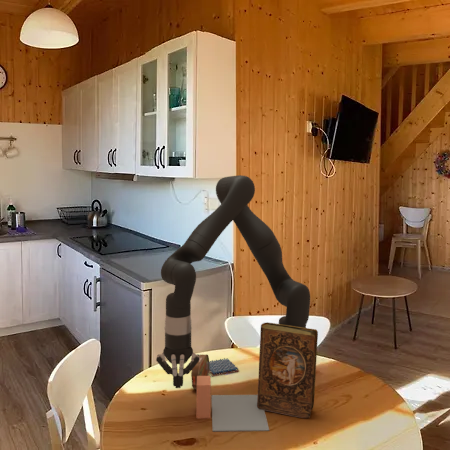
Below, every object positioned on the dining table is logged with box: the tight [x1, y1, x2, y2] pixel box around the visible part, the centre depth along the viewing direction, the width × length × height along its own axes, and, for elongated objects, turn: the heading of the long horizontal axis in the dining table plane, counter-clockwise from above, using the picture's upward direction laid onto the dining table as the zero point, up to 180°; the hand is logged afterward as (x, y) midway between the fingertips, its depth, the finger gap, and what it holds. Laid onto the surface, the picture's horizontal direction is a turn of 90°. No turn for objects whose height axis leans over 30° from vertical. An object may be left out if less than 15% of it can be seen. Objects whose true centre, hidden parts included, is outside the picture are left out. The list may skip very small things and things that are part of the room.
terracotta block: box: [195, 375, 212, 419], centre depth 141 cm, size 4×6×10 cm, turn 3°
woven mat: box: [209, 357, 240, 377], centre depth 171 cm, size 10×11×2 cm
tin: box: [190, 353, 210, 390], centre depth 160 cm, size 15×3×8 cm, turn 168°
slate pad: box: [211, 394, 270, 432], centre depth 142 cm, size 16×20×1 cm
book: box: [257, 322, 319, 419], centre depth 142 cm, size 16×6×25 cm, turn 71°
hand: (178, 386), depth 140 cm, fingers closed
